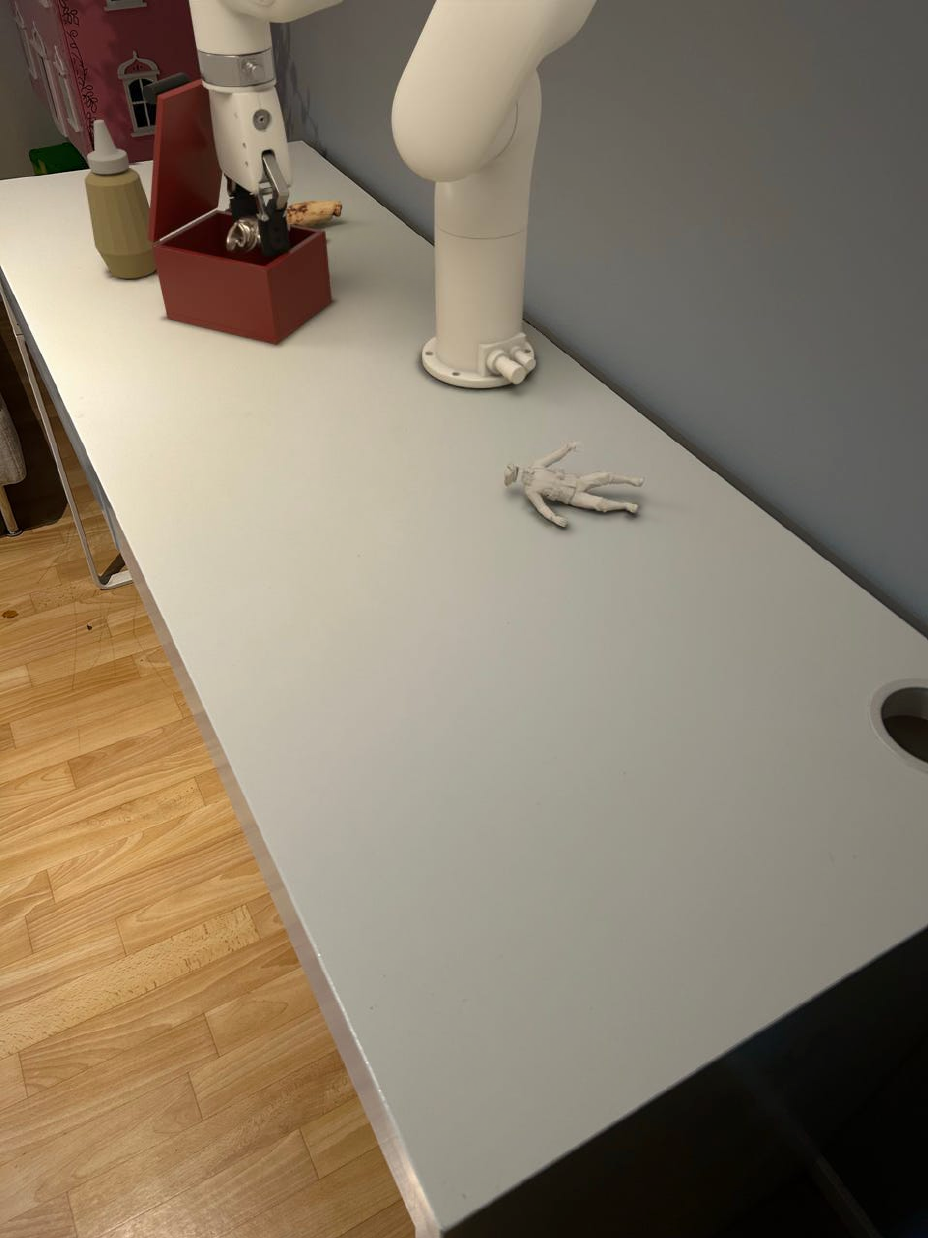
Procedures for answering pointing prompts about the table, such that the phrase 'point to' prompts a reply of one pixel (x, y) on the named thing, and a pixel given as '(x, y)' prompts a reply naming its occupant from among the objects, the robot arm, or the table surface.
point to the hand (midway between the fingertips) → (261, 241)
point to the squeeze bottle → (118, 209)
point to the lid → (181, 155)
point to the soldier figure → (567, 485)
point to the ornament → (245, 234)
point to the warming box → (242, 280)
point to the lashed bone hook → (311, 212)
